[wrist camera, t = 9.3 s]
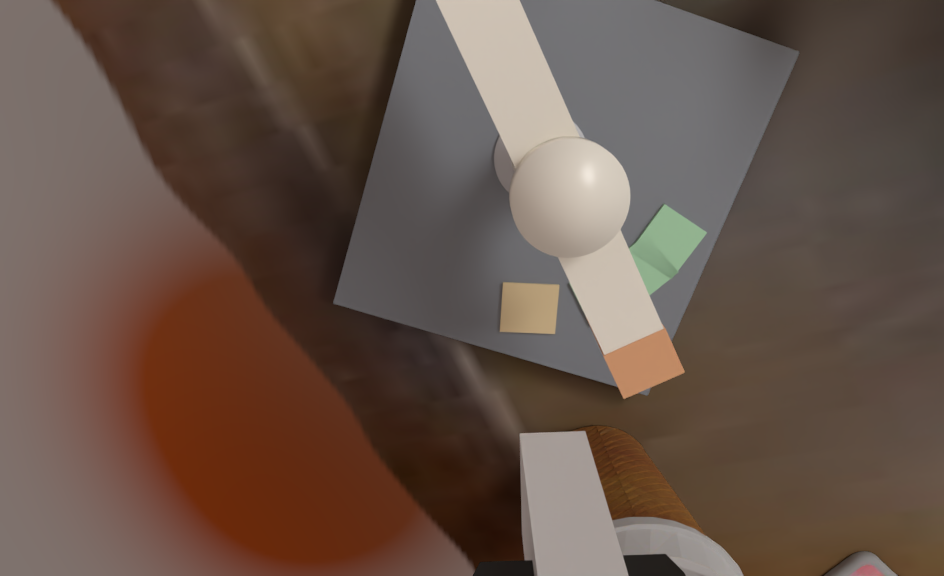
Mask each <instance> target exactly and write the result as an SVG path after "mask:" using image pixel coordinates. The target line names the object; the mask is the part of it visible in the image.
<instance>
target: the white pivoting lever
mask: <svg viewBox="0 0 944 576" xmlns="http://www.w3.org/2000/svg"><path fill="white" fill-rule="evenodd" d="M436 2H437V4H438V6H439V8H440V10H441V12H442V15H443V17H444V19H445V21H446V23H447V25H448V27H449V29H450V31H451V33H452V36H453V38H454V40H455V42H456V44H457V46H458V48H459V50H460V52H461V55H462V57H463V59H464V61H465V63H466V65H467V67H468V69H469V71H470V73H471V76H472V78H473V80H474V82H475V84H476V86H477V88H478V90H479V92H480V94H481V97H482V99H483V101H484V103H485V105H486V107H487V109H488V111H489V113H490V116H491V118H492V120H493V122H494V124H495V126H496V128H497V130H498V132H499V134H500V137H501V139H502V141H503V143H504V145H505V147H506V149H507V151H508V153H509V156H510V158H511V161H512V167H513V170H514V174H513V176H512V180H511V183H510V189H509V202H510V208H511V212H512V215H513V219H514V222H515V224H516V226H517V228H518V230H519V232H520V233H521V235H522V236H523V237H524V238H525V239H526V240H527V241H528V242H529V243H530V244H531V245H532V246H533V247H535V248H536V249H538V250H540V251H541V252H543V253H546V254H548V255H552V256H556V257H558V259H559V261H560V263H561V265H562V267H563V269H564V271H565V273H566V276H567V278H568V280H569V282H570V284H571V286H572V288H573V290H574V292H575V294H576V297H577V299H578V301H579V303H580V305H581V307H582V309H583V311H584V313H585V315H586V319H587V321H588V323H589V325H590V328H591V330H592V332H593V334H594V336H595V339H596V341H597V343H598V345H599V348H600V350H601V352H602V354H603V357H604V359H605V361H606V363H607V365H608V367H609V369H610V371H611V373H612V375H613V378H614V380H615V382H616V384H617V386H618V388H619V390H620V392H621V394H622V396H623V399H625V398H627V397H630V396H632V395H634V394H637V393H639V392H641V391H644V390H646V389H648V388H651V387H653V386H655V385H657V384H660V383H662V382H664V381H667V380H669V379H671V378H674V377H676V376H678V375H680V374H683V373H685V372H684V369H683V367H682V365H681V362H680V360H679V358H678V356H677V353H676V351H675V349H674V347H673V344H672V342H671V340H670V337H669V335H668V333H667V331H666V328H665V327H664V326H663V324H662V323H661V321H660V318H659V316H658V314H657V312H656V309H655V307H654V305H653V302H652V300H651V298H650V296H649V293H648V291H647V289H646V287H645V284H644V282H643V280H642V277H641V275H640V273H639V271H638V268H637V266H636V264H635V262H634V259H633V257H632V255H631V252H630V250H629V248H628V246H627V243H626V241H625V239H624V237H623V234H622V232H621V230H620V229H621V227H622V226H623V224H624V222H625V220H626V217H627V214H628V211H629V206H630V186H629V181H628V178H627V175H626V173H625V171H624V169H623V167H622V165H621V164H620V163H619V161H618V160H617V159H616V158H615V157H614V156H613V155H612V154H611V153H610V152H609V151H607V150H606V149H605V148H603V147H602V146H600V145H599V144H597V143H595V142H593V141H591V140H588V139H585V138H581V137H580V136H579V134H578V132H577V130H576V127H575V125H574V123H573V121H572V118H571V116H570V114H569V111H568V109H567V107H566V105H565V102H564V100H563V98H562V95H561V93H560V91H559V89H558V86H557V84H556V82H555V80H554V77H553V75H552V73H551V70H550V68H549V66H548V64H547V61H546V59H545V57H544V55H543V52H542V50H541V48H540V45H539V43H538V41H537V39H536V36H535V34H534V32H533V30H532V27H531V25H530V23H529V20H528V18H527V16H526V14H525V11H524V9H523V7H522V5H521V2H520V0H436Z"/></svg>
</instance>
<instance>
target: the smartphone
mask: <svg viewBox="0 0 944 576" xmlns="http://www.w3.org/2000/svg"><path fill="white" fill-rule="evenodd" d="M823 576H898V575H897V574H895V573H894V572H893V571H892V570H891V569H890V568H889V567H888V566H887V565H886V564H884V563H883V562H882V561H881V560H880V559H879V558H878V557H877V556H876V555H875V554H873V553H871V552H867V551H861V552H857V553H854V554H852V555H850V556H849V557H848V558H846V559H845V560H844V561H842V562H841V563H840V564H838V565H837V566H836V567H834V568H833V569H832V570H830V571H829V572H828V573H826V574H825V575H823Z"/></svg>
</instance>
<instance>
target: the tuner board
mask: <svg viewBox="0 0 944 576" xmlns="http://www.w3.org/2000/svg"><path fill="white" fill-rule="evenodd" d="M520 2H521V5H522V7H523V9H524V11H525V14H526V16H527V18H528V20H529V23H530V25H531V27H532V30H533V32H534V34H535V36H536V39H537V41H538V43H539V45H540V48H541V50H542V52H543V55H544V57H545V59H546V61H547V64H548V66H549V68H550V70H551V73H552V75H553V77H554V80H555V82H556V84H557V86H558V89H559V91H560V93H561V95H562V98H563V100H564V102H565V105H566V107H567V109H568V111H569V114H570V116H571V118H572V121H573V123H574V125H575V127H576V130H577V132H578V134H579V136H580V137H581V138H585V139H588V140H591V141H593V142H595V143H597V144H599V145H600V146H602V147H603V148H605V149H606V150H607V151H609V152H610V153H611V154H612V155H613V156H614V157H615V158H616V159H617V160H618V161H619V163H620V164H621V165H622V167H623V169H624V171H625V173H626V175H627V178H628V181H629V186H630V206H629V211H628V214H627V217H626V220H625V222H624V224H623V226H622V227H621V229H620V230H621V232H622V234H623V237H624V239H625V241H626V243H627V246H628V248H629V250H630V252H631V255H632V257H633V259H634V262H635V264H636V266H637V268H638V271H639V273H640V275H641V277H642V280H643V282H644V284H645V287H646V289H647V291H648V293H649V296H650V298H651V300H652V302H653V305H654V307H655V309H656V312H657V314H658V316H659V318H660V321H661V323H662V324H663V326H664V327H665V328H666V331H667V333H668V335H669V337H670V340H671V342H672V339H673V337H674V335H675V333H676V330H677V328H678V326H679V324H680V321H681V319H682V317H683V315H684V312H685V310H686V308H687V305H688V303H689V301H690V299H691V296H692V294H693V292H694V290H695V287H696V285H697V283H698V281H699V278H700V276H701V274H702V272H703V269H704V267H705V265H706V263H707V260H708V258H709V256H710V254H711V251H712V249H713V247H714V245H715V242H716V240H717V238H718V236H719V233H720V231H721V229H722V226H723V224H724V222H725V220H726V217H727V215H728V213H729V211H730V208H731V206H732V204H733V202H734V199H735V197H736V195H737V193H738V190H739V188H740V186H741V184H742V181H743V179H744V177H745V175H746V172H747V170H748V168H749V166H750V163H751V161H752V159H753V157H754V154H755V152H756V150H757V147H758V145H759V143H760V141H761V138H762V136H763V134H764V132H765V129H766V127H767V125H768V123H769V120H770V118H771V116H772V114H773V111H774V109H775V107H776V105H777V102H778V100H779V98H780V96H781V93H782V91H783V89H784V87H785V84H786V82H787V80H788V78H789V75H790V73H791V71H792V68H793V66H794V64H795V62H796V59H797V57H798V55H799V53H800V52H799V51H796V50H794V49H791V48H788V47H785V46H782V45H779V44H777V43H774V42H771V41H768V40H765V39H763V38H760V37H757V36H754V35H751V34H749V33H746V32H743V31H740V30H737V29H735V28H732V27H729V26H726V25H723V24H720V23H718V22H715V21H712V20H709V19H706V18H704V17H701V16H698V15H695V14H692V13H690V12H687V11H684V10H681V9H678V8H675V7H673V6H670V5H667V4H664V3H661V2H659V1H656V0H520ZM513 174H514V170H513V167H512V161H511V158H510V156H509V153H508V151H507V149H506V147H505V145H504V143H503V141H502V139H501V137H500V134H499V132H498V130H497V128H496V126H495V124H494V122H493V120H492V118H491V116H490V113H489V111H488V109H487V107H486V105H485V103H484V101H483V99H482V97H481V94H480V92H479V90H478V88H477V86H476V84H475V82H474V80H473V78H472V76H471V73H470V71H469V69H468V67H467V65H466V63H465V61H464V59H463V57H462V55H461V52H460V50H459V48H458V46H457V44H456V42H455V40H454V38H453V36H452V33H451V31H450V29H449V27H448V25H447V23H446V21H445V19H444V17H443V15H442V12H441V10H440V8H439V6H438V4H437V2H436V0H416V3H415V6H414V10H413V14H412V17H411V21H410V24H409V28H408V32H407V35H406V39H405V43H404V46H403V50H402V54H401V57H400V61H399V65H398V68H397V72H396V76H395V79H394V83H393V87H392V90H391V94H390V98H389V101H388V105H387V108H386V112H385V116H384V119H383V123H382V127H381V130H380V134H379V138H378V141H377V145H376V149H375V152H374V156H373V160H372V163H371V167H370V171H369V174H368V178H367V182H366V185H365V189H364V192H363V196H362V200H361V203H360V207H359V211H358V214H357V218H356V222H355V225H354V229H353V233H352V236H351V240H350V244H349V247H348V251H347V255H346V258H345V262H344V266H343V269H342V273H341V277H340V280H339V284H338V287H337V291H336V295H335V298H334V302H333V304H336V305H340V306H343V307H347V308H350V309H353V310H357V311H360V312H364V313H367V314H370V315H374V316H377V317H381V318H384V319H388V320H391V321H394V322H398V323H401V324H405V325H408V326H411V327H415V328H418V329H422V330H425V331H428V332H432V333H435V334H439V335H442V336H446V337H449V338H452V339H456V340H459V341H463V342H466V343H469V344H473V345H476V346H480V347H483V348H486V349H490V350H493V351H497V352H500V353H504V354H507V355H510V356H514V357H517V358H521V359H524V360H527V361H531V362H534V363H538V364H541V365H544V366H548V367H551V368H555V369H558V370H562V371H565V372H568V373H572V374H575V375H579V376H582V377H585V378H589V379H592V380H596V381H599V382H602V383H606V384H609V385H613V386H616V387H618V386H617V384H616V382H615V380H614V378H613V375H612V373H611V371H610V369H609V367H608V365H607V363H606V361H605V359H604V357H603V354H602V352H601V350H600V348H599V345H598V343H597V341H596V339H595V336H594V334H593V332H592V330H591V328H590V325H589V323H588V321H587V319H586V315H585V313H584V311H583V309H582V307H581V305H580V303H579V301H578V299H577V297H576V294H575V292H574V290H573V288H572V286H571V284H570V282H569V280H568V278H567V276H566V273H565V271H564V269H563V267H562V265H561V263H560V261H559V259H558V257H556V256H552V255H548V254H546V253H543V252H541V251H540V250H538V249H536V248H535V247H533V246H532V245H531V244H530V243H529V242H528V241H527V240H526V239H525V238H524V237H523V236H522V235H521V233H520V232H519V230H518V228H517V226H516V224H515V222H514V219H513V215H512V212H511V208H510V202H509V189H510V183H511V180H512V176H513ZM650 389H651V388H648V389H646V390H644V391H641V392H639V393H640V394H643V395H647V396H648V394H649V391H650Z"/></svg>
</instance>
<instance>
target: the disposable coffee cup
mask: <svg viewBox="0 0 944 576" xmlns="http://www.w3.org/2000/svg"><path fill="white" fill-rule="evenodd" d="M573 431H585V432H586V435H587V439H588V442H589V445H590V448H591V452H592V455H593V458H594V462H595V465H596V468H597V472H598V475H599V478H600V482H601V485H602V488H603V492H604V495H605V498H606V502H607V505H608V508H609V512H610V515H611V518H612V522H613V525H614V528H615V532H616V535H617V538H618V542H619V545H620V548H621V552H622V555H645V554H666V555H667V556H668V557H669V558H670V559H671V560H672V561H673V562H674V563H675V564H676V565H677V566H678V567H679V568H680V569H681V570H682V571H683V572H684V573H685V575H686V576H743V574H742V572H741V570H740V568H739V566H738V565H737V564H736V562H735V561H734V560H733V559H732V558H731V557H730V556H729V554H728V553H727V552H726V551H725V550H724V549H723V547H721V546H720V545H718V544H717V543H716V542H714V541H713V540H711V539H710V538H709V537H707V536H706V535H705V534H704V532H703V531H702V529H701V528H700V527H699V525H698V524H697V523H696V521H695V520H694V518H693V517H692V516H691V514H690V513H689V511H688V510H687V509H686V507H685V506H684V505H683V503H682V502H681V501H680V499H679V498H678V496H677V495H676V493H675V492H674V491H673V489H672V488H671V486H670V485H669V484H668V482H667V481H666V479H665V478H664V477H663V476H662V474H661V473H660V471H659V470H658V469H657V467H656V466H655V464H654V463H653V462H652V460H651V459H650V458H649V456H648V455H647V453H646V452H645V451H644V449H643V447H642V446H641V444H640V443H638V442H637V441H636V440H635V439H634V438H633V437H632V436H630V435H629V434H627V433H625V432H624V431H622V430H619V429H616V428H612V427H607V426H596V425H595V426H589V427H583V428H579V429H576V430H573ZM571 432H572V431H571Z"/></svg>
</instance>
